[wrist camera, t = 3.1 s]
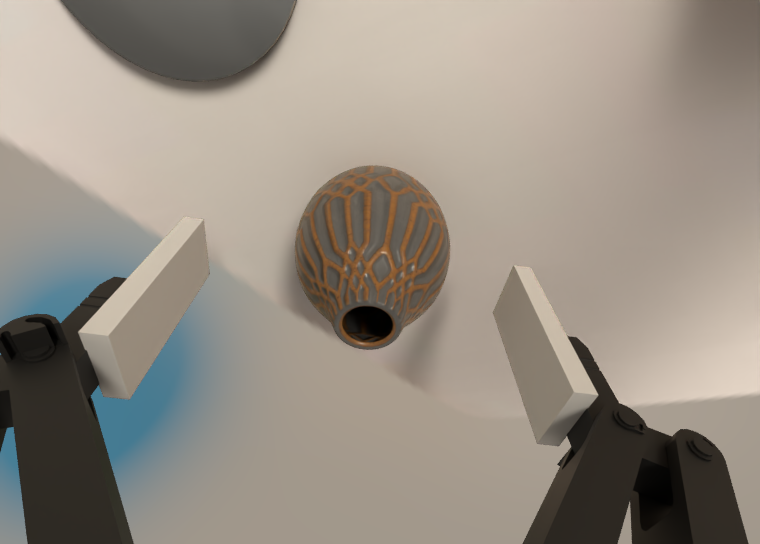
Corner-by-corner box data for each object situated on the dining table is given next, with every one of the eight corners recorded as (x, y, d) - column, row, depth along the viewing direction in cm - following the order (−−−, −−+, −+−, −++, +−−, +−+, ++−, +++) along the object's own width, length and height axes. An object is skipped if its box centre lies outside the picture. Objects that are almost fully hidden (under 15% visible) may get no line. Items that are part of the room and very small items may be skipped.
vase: (369, 115, 18) (355, 199, 11) (468, 208, 20) (508, 324, 13) (285, 214, 21) (230, 330, 14) (380, 283, 24) (375, 410, 16)
